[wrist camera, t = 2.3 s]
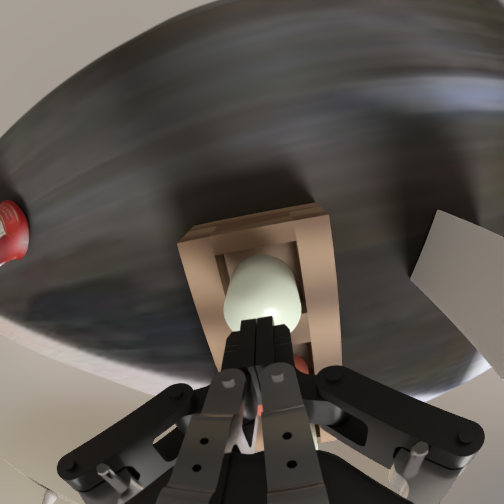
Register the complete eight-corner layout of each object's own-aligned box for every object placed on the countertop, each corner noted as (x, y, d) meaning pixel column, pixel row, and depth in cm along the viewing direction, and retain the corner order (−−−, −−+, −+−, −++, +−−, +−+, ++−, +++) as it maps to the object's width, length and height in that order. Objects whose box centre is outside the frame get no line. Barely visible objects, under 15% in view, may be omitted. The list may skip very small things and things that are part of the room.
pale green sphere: (223, 261, 19) (214, 283, 16) (290, 249, 18) (295, 269, 15) (238, 318, 20) (233, 347, 17) (299, 308, 20) (305, 336, 16)
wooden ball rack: (194, 225, 23) (176, 243, 19) (315, 202, 22) (328, 214, 18) (252, 419, 31) (250, 451, 26) (334, 406, 30) (341, 438, 25)
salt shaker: (57, 494, 60) (48, 514, 48) (59, 496, 62) (50, 516, 49) (46, 486, 59) (35, 507, 47) (47, 489, 61) (38, 509, 49)
